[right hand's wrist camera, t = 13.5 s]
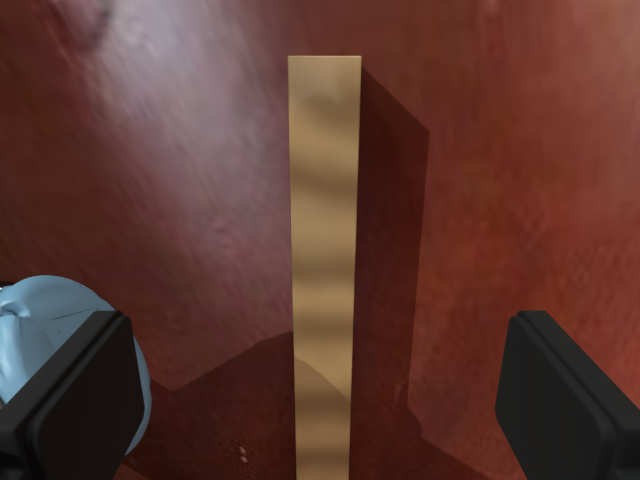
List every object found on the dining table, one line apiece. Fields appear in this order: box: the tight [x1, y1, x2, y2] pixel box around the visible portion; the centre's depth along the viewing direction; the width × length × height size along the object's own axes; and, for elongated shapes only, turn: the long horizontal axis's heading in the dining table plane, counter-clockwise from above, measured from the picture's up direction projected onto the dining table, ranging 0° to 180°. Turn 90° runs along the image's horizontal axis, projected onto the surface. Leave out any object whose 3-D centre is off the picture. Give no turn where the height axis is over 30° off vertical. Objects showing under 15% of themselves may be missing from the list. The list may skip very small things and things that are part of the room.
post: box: [288, 56, 362, 480], centre depth 43 cm, size 57×5×6 cm, turn 0°
